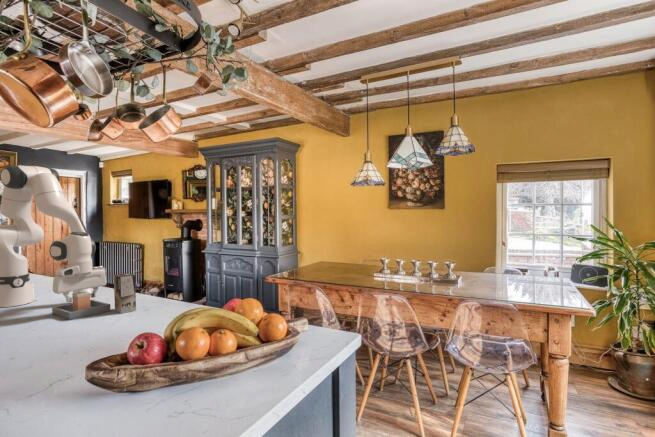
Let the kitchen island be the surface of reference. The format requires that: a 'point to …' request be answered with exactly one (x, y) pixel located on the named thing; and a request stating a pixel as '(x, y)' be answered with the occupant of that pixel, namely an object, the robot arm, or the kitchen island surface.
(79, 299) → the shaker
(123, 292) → the coffee box
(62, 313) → the tray
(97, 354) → the kitchen island surface
